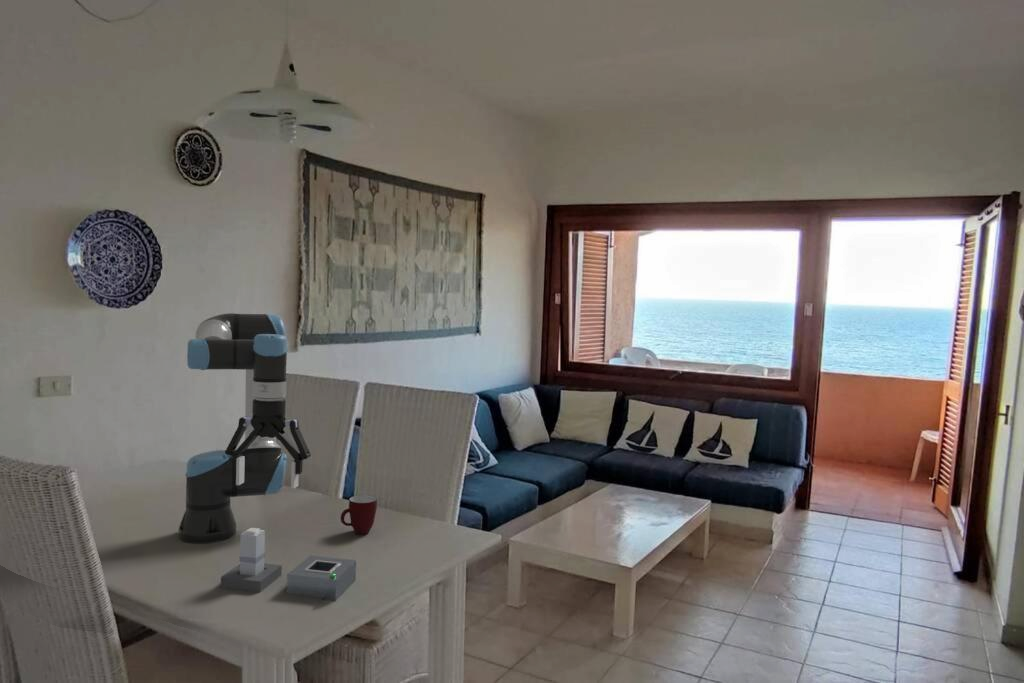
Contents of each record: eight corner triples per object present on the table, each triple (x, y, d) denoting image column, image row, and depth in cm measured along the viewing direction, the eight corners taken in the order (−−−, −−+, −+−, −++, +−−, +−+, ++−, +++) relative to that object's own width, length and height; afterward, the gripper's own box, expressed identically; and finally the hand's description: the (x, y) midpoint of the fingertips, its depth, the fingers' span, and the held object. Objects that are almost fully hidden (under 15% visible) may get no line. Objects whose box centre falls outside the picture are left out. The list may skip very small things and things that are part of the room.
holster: (220, 589, 161) (220, 576, 161) (243, 572, 171) (244, 561, 171) (260, 594, 160) (260, 581, 159) (281, 577, 169) (281, 565, 169)
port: (286, 595, 160) (287, 571, 159) (309, 575, 171) (310, 553, 171) (335, 601, 158) (336, 577, 157) (355, 580, 170) (356, 558, 169)
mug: (347, 540, 197) (348, 505, 196) (335, 532, 203) (336, 498, 202) (380, 533, 203) (381, 500, 203) (368, 525, 209) (369, 493, 209)
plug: (238, 583, 163) (240, 531, 163) (248, 576, 168) (249, 526, 167) (255, 585, 163) (256, 533, 162) (264, 578, 167) (265, 527, 166)
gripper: (211, 397, 162) (209, 486, 164) (314, 403, 161) (311, 492, 162) (226, 393, 170) (225, 478, 171) (325, 399, 168) (322, 484, 169)
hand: (267, 485), depth 167 cm, fingers open, 13 cm apart
